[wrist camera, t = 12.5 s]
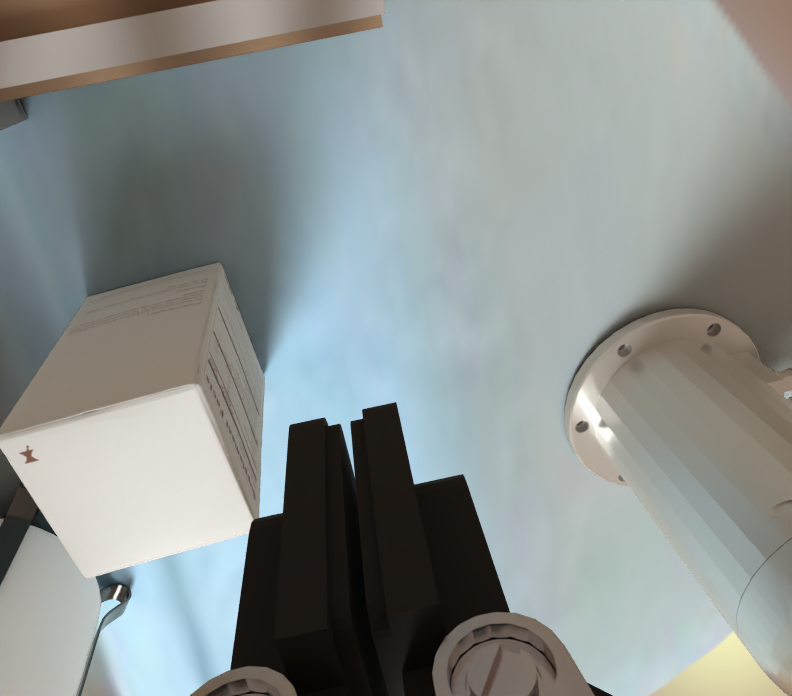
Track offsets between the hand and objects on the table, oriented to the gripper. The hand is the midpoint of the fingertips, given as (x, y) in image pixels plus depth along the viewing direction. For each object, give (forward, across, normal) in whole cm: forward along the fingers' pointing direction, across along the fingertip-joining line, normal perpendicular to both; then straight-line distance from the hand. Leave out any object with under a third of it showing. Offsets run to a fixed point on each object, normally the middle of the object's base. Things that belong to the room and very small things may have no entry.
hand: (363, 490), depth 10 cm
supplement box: (+25, +10, +7) cm, 27 cm away
